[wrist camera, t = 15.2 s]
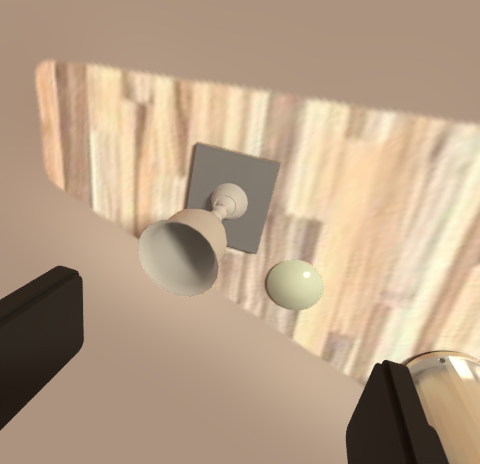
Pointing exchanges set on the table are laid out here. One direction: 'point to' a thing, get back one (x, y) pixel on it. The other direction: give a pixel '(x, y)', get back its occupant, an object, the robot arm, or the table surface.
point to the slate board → (244, 176)
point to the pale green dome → (295, 284)
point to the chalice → (190, 244)
